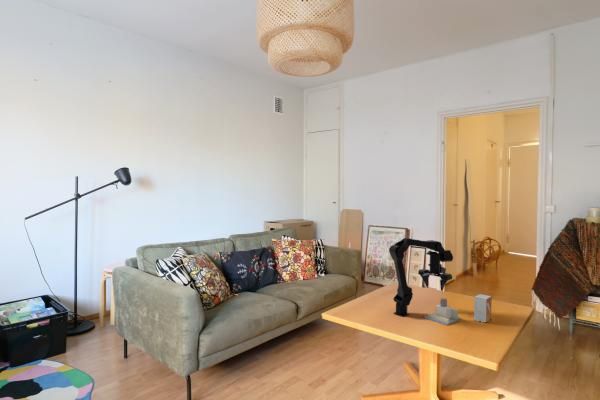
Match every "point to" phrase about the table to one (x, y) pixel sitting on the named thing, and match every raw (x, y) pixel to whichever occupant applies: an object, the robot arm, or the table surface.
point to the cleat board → (442, 320)
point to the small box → (482, 308)
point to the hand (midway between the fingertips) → (434, 289)
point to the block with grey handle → (443, 309)
